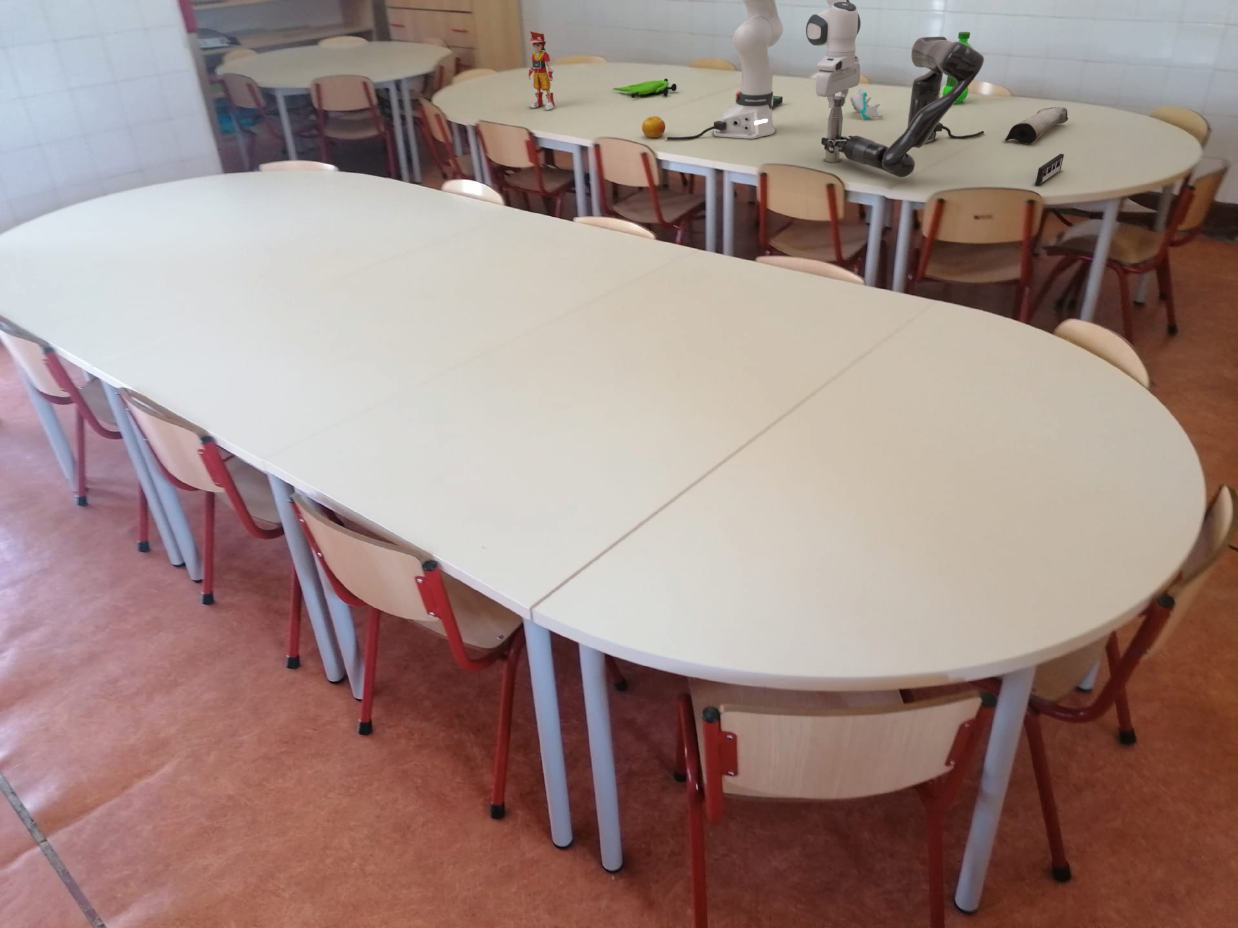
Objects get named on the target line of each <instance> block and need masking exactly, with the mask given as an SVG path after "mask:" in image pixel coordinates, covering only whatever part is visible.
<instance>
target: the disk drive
mask: <svg viewBox="0 0 1238 928" xmlns="http://www.w3.org/2000/svg"><path fill="white" fill-rule="evenodd" d="M783 99H784V97H783V96H778V95H773V106H772V109H774V108H777V106H779V105H782V103H783V102H784V101H783Z"/></svg>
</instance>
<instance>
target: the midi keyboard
mask: <svg viewBox="0 0 1238 928" xmlns="http://www.w3.org/2000/svg"><path fill="white" fill-rule="evenodd" d="M1064 157H1065V153H1059V154H1058V155H1056V156H1055V157H1052V159H1051V160H1049V161H1047V162H1045V164H1042V165H1041V166H1039V167H1038V169H1037V175H1036V179H1035V186H1040V185H1042V183H1044V182H1045V181H1047V180H1048V179H1049V178H1051V177H1052V176H1054V175H1055V174H1056V173H1058V172H1060V171H1061V170H1062V165H1063V161H1064Z"/></svg>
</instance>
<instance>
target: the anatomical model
mask: <svg viewBox="0 0 1238 928" xmlns="http://www.w3.org/2000/svg"><path fill="white" fill-rule="evenodd" d="M866 97H867V98H866ZM871 99H872V98H871V97H870V96H869V97H868V94H867V92H866V91H864V90H863V89H862V88H861V89H859V90H858V92H857V93H856V94H853V95H851V96H850V102H851V106H852V107H853V110H854V111H856V112H860V114H861V116H862V117H863V119H864V120H871V119H873V118H879V119H880V118H883V117H884V116H885V115H884V113H879V112H878V111H877V110H878V108H879V107H880V106H881V104H880V103H875V104H874V105H869V102H870V101H871Z"/></svg>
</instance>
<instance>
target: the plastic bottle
mask: <svg viewBox="0 0 1238 928" xmlns="http://www.w3.org/2000/svg"><path fill="white" fill-rule="evenodd" d="M970 36H971V32H970V31H959V32H958V36H957V39H958V42H962V43H965V44H966V45H968V46H969V47H971V48H973V47H972V45H971V44H970V43H969V42H968V41H969V39H970V38H971V37H970ZM946 77H947V78H946V84H945V85H944V87H943V90H942V96H944V95H945V94H947V93H948V92H949V91H950V90H951V89H952V88H953V87H954V85H955V84H956V81H955V80H954V79H952V78H950V77H949V76H946ZM968 95H969V86H968V87H967V88H966V90H965V91H964V92H963V93H962V94H961V96H960V97H959V98H958V99H957V101H956V102H955V103H954V104H960V103H961V102H963V101H964V100H966V98H967V96H968Z"/></svg>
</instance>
